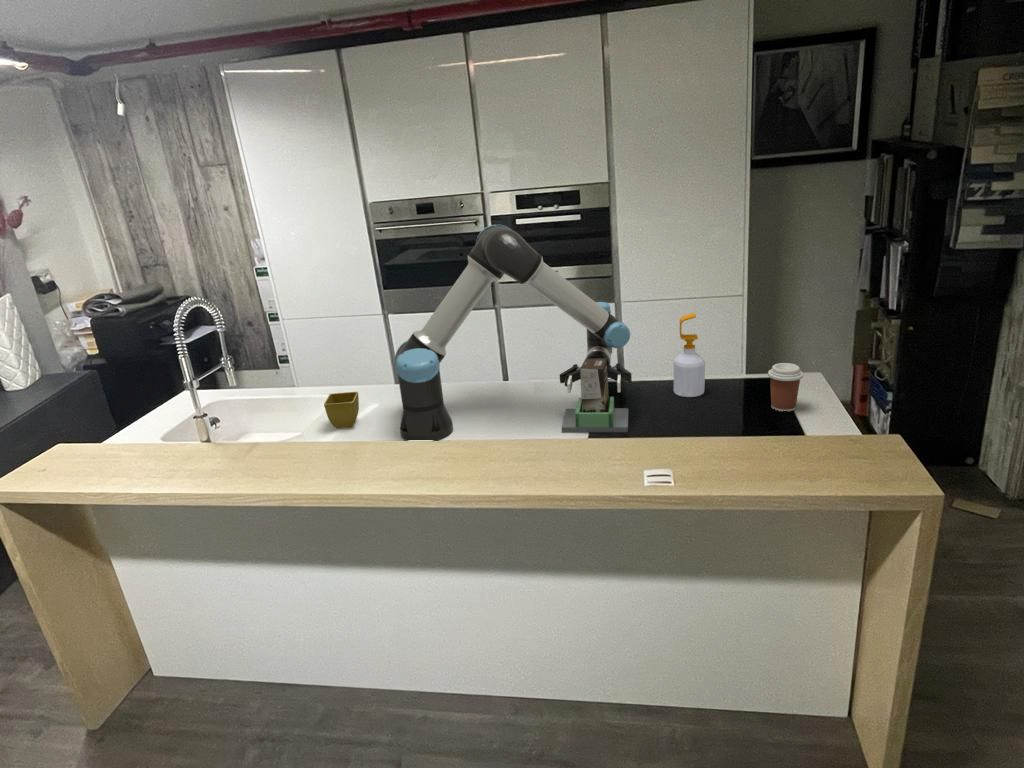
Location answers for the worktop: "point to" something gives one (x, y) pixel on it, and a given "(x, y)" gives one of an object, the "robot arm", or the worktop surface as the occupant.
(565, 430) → the chute bracket
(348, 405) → the flower pot
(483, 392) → the worktop surface
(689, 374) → the soap bottle
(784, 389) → the coffee cup
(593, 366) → the coffee box
